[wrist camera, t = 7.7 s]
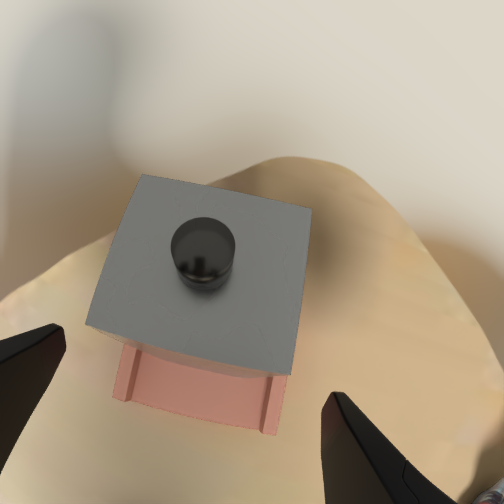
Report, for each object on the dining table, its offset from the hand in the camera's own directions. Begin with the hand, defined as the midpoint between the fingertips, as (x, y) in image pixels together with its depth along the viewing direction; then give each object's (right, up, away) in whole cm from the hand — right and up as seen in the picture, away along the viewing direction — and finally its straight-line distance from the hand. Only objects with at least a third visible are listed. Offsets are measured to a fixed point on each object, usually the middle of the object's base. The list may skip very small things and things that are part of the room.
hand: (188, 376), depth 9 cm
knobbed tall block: (-1, -1, +10) cm, 10 cm away
